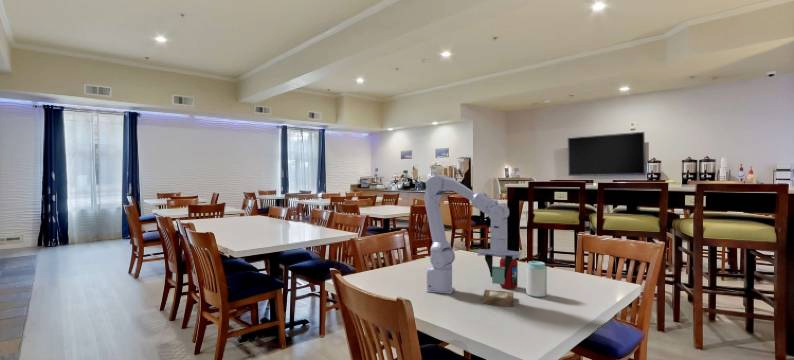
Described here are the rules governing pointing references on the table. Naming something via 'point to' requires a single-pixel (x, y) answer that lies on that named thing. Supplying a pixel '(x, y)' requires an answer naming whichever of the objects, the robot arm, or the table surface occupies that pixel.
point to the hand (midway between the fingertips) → (498, 277)
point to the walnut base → (498, 298)
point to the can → (536, 279)
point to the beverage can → (510, 274)
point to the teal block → (498, 275)
